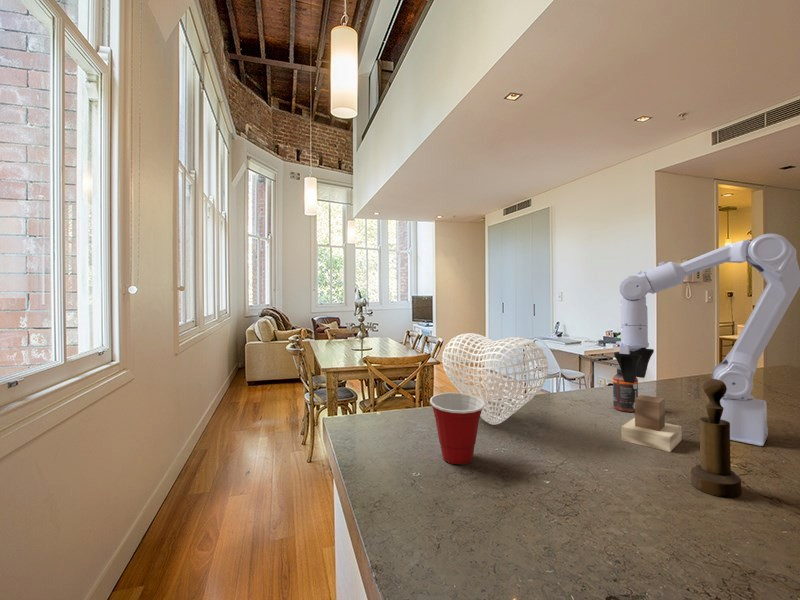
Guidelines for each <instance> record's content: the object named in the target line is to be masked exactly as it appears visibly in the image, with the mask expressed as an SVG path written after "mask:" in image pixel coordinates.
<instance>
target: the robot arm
mask: <svg viewBox="0 0 800 600" xmlns="http://www.w3.org/2000/svg"><path fill="white" fill-rule="evenodd" d="M746 262H747V264H749V265H750V266H751V267H753V268H754V269H756V270H757V271H758V272H759V274H760V275H761V277H762V279H764V281H765V283H766V284H765V287H764V289H763V291H762V292H761V294H760V297H759V298H758V300H757V302H756V304H755V305H754V307H753V309H752V311H751V313H750V314H749V316H748V319H747V320H746V322H745V324H744V326H743V328H742V329H741V330H740V333H739V335H738V337H737V339H736V341H735V343H734V344H733V346H732V347H731V350H730V351H729V352H728V353H727V354H726V356H725V357H724V359H723V360H722V361H721V362H720V363H718V364H716V365H715V366H714V367H713V368H712V371H711V379H718V380H721V381H723V382H724V383H725V385H726V388H727V390H726V393H725V394H724V396H723V397H722V398H721V400H720V404H721V406H722V407H723V413H722V416H721V419H722V420H725V421H728V422H729V423H730V441H734V442H738V443H739V442H740V443H745V444H750V445H754V446H759V447H764V445H765V442H766V440H767V437H768V435H769V427H768V423H767V422H768V415H767V414H768V413H767V412H768V409H767V408H768V407H767V401H766V400H764V399H758V398H755V397H754V395H753V393H752V391H753V388H754V375H755V373H756V371H757V368H758V363H759V360H760V358H761V356H762V354H763V352H764V351H765V349H766V347H767V345H768V344H769V342H770V340H771V338H772V337H773V335H774V333H775V331H776V330H777V327H778V326H779V324H780V322H781V321H782V319H783V317H784V316H785V314H786V311H787V310H788V308H789V306H790V305H791V303H792V302H793V300H794V298H795V296H796V294H797V292H798V291H799V289H800V266H799V262H798V258H797V249H796V247H794V246H793V244H792V243H791V242H790V240H788V239H787V238H786V237H784V236H783V235H781V234H777V233H764V234H760V235H759V236H757V237H755V238H754V239H752V238H747V239H743V240H740V241H739V240H738V241H737V242H733V243H729V244H727V245H723V246H721V247H719V248H716V249H714V250H711V251H709V252H706V253H704V254H701V255H698V256H697V257H694V258H691V259H688V260H686V261H684V262H681V263H677V262H674V261H668V262H665V261H662V262H659V263H658V265H657V266H655V267H652V268H650V269H648V270H645V271H642V270H640V271H638V272H636V274H637V275H629V276H627V277H626V278H624V279H622V281H620V285H619V293H620V295H621V299H620V304H621V306H620V340H619V341H618V340H617V341H616V342H615V345H618V349H619V351H615V352H613V354H614V358H615V359H616V361H617V363H618V365H619V367H620V368H621V372H622V376H623V379H624V382H629V383H634V382H635V379H636V378H639V379H640V378H642V379H645V377H646V374H647V370H648V365H649V362H650V359H651V357H652V356H653V354H654V352H655V351H654V349H653V348H649V347H650V344H649V337H648V336H649V335H648V333H649V330H648V327H649V326H648V315H649V314H648V306H647V294H652V295H654V294H656V293H659V292H661V291H662V292H663V291H665V290H668V289H670V288H673V287H676V286H679V285H682V284H683V283H684V280H685V278H686V276H690V275H692V274H696V273H698V272H699V273H700V272H701V271H704V270H708V269H711V268H713V267H717V266H719V265H722V264H726V263H729V264H730V263H732V264H734V263H735V264H742V263H746Z"/></svg>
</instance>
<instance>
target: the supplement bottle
mask: <svg viewBox="0 0 800 600" xmlns="http://www.w3.org/2000/svg"><path fill="white" fill-rule="evenodd" d="M612 395H613V396H612V397H613V399H612V402H613V405H612V406H613V409H615V410H617V411H620V412H627V413H635V398H637V397H639V379H638V377H636V379H635V382H634V383H629V382H624V379H623V376H622V372H621V368H620V366H619V367H616V374H615V375H613V377H612Z"/></svg>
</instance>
